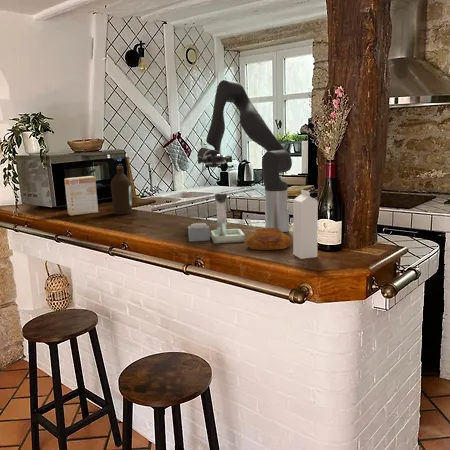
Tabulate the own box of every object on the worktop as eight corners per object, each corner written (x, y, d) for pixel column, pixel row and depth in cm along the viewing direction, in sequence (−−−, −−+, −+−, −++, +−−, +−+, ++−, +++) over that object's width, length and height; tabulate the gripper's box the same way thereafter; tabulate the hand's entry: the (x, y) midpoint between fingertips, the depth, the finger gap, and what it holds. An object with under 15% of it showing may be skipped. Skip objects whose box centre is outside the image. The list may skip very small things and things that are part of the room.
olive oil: (112, 215, 242) (109, 167, 237) (113, 212, 252) (109, 165, 247) (133, 214, 244) (130, 166, 239) (133, 210, 255) (129, 165, 250)
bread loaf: (287, 258, 162) (291, 236, 160) (243, 251, 165) (246, 229, 163) (290, 246, 176) (293, 226, 174) (249, 240, 179) (251, 220, 177)
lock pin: (227, 235, 185) (226, 193, 182) (228, 238, 181) (227, 194, 177) (215, 236, 185) (214, 193, 181) (217, 238, 180) (215, 195, 177)
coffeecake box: (95, 210, 259) (91, 175, 255) (98, 212, 253) (95, 176, 249) (67, 213, 252) (63, 177, 248) (70, 215, 246) (66, 178, 242)
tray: (239, 234, 190) (239, 228, 189) (245, 241, 178) (244, 235, 178) (210, 236, 188) (210, 230, 188) (213, 243, 177) (213, 236, 176)
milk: (300, 259, 152) (300, 192, 148) (293, 254, 158) (292, 190, 153) (317, 257, 154) (318, 191, 149) (309, 252, 160) (309, 188, 155)
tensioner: (206, 232, 195) (206, 218, 194) (209, 240, 181) (209, 225, 180) (187, 234, 194) (186, 219, 193) (189, 241, 180) (188, 226, 179)
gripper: (195, 150, 202) (198, 151, 186) (228, 149, 203) (233, 150, 188) (196, 167, 203) (199, 170, 187) (228, 166, 205) (234, 169, 189)
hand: (216, 160), depth 188 cm, fingers open, 8 cm apart
